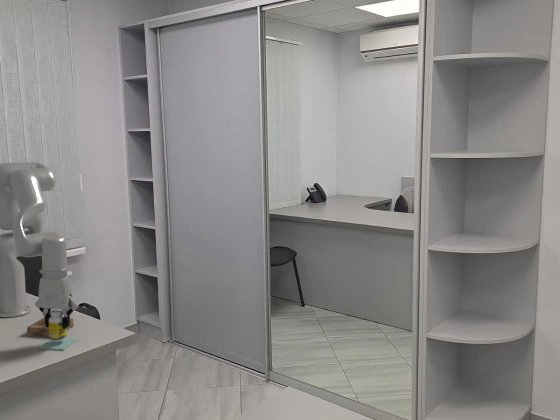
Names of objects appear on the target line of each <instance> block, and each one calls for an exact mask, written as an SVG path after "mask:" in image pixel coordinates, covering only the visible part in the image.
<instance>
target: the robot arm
mask: <svg viewBox="0 0 560 420" xmlns="http://www.w3.org/2000/svg"><path fill="white" fill-rule="evenodd" d="M55 187H56V177H55V175H54V173H53V171H52V170H51V169H50V167H47V166H46V165H44V164H42V163H40V162H34V161H29V162H28V161H27V162H2V163H0V230H2V231H12V232H4V233H1V234H0V318H16V317H20V316H24V315H27V314H29V313H30V312H31V311H32V307H31V306H29V305H27V293H26V291H27V290H26V275H25V266H24V264H23V263H22V262H21V261H20V260H18V257H23V258H33V257H40V256H41V263H42V264H41V266H42V267H41V269H39V273H40V274H42V277H40V279H39V285H38V299H37V300H36V301H35V303H34V305H35V306H36V308H37V309H39V311H40V312H41V313H42V315H43V316H44V317H45V325H46V327H49V318H50V317H51V311H52V310H55V309H60V310H62V312H63V316H64V317H62V326H63V329H65V328H67V327H68V326H69V325H70V318H71V314H72V313H74V311H76V310H77V309H78V308H79V304H78V303H77V301H76V300H75V299H74V296H73V295H74V294H73V288H72V286H73V285H72V282H71V278H70V276H69V275H68V253H67V251H68V250H67V239H66V238H65V237H64V236H62V235H60V233H58V232H57V231H47V232H43V215H42V213H43V212H44V211H45V209H46V208H47V207H46V206H47V203H46V201H45V198H44V194H43V192H51V191H53V189H55ZM24 229H27V230H24ZM70 306H71V307H70Z"/></svg>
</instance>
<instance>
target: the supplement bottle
mask: <svg viewBox="0 0 560 420" xmlns="http://www.w3.org/2000/svg"><path fill="white" fill-rule="evenodd" d="M62 317H64V315H63V312H62V310H60V309H51V317H50V318H49V337H48V339H49V340H50V341H53V342H58V341H63V340H65V339H66V338H68V336H67V335H68V334H67V333H68V331H66V328H65V329H63V326H62Z"/></svg>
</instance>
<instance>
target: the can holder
mask: <svg viewBox="0 0 560 420" xmlns="http://www.w3.org/2000/svg"><path fill="white" fill-rule="evenodd" d="M74 325H75V323H74V318H71V317H70V325H69V326H68V327H67V328H66V331H67V330H68V331H69V330H71V329H72V328H73V326H74ZM70 328H71V329H70ZM26 329H27V336H31V337H44V338H45V337H46V338H47V337H48V338H49V327H46V325H45V316H44V317H42V318H41V319H39V320H37V321H35V322H34V323H32V324H31V325H29V326H27V328H26ZM68 331H67V332H68Z"/></svg>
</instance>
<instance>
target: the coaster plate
mask: <svg viewBox="0 0 560 420" xmlns="http://www.w3.org/2000/svg"><path fill="white" fill-rule="evenodd" d="M77 342H79V338H70V337H67V338H66V339H65V340H63V341H58V342H53V341H50V339H49V340H47V341H46V342H44V343H42V344H40V345H39V346H38V349H40V350H53V351H66V350H67V349H68V348H70V347H71V346H72V345H74V344H75V343H77Z"/></svg>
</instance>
